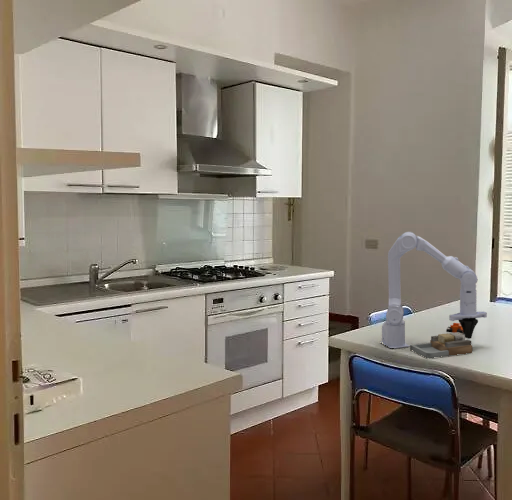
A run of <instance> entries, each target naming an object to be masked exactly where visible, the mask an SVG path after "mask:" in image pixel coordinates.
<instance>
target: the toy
mask: <svg viewBox="0 0 512 500" xmlns="http://www.w3.org/2000/svg"><path fill="white" fill-rule="evenodd" d="M445 332H446V333H455V332H459V333H462V334H464V331H463V328H462V326H461V324H460V322H453V323H452V324H450V326H448V327H446V330H445Z"/></svg>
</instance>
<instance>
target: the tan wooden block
mask: <svg viewBox="0 0 512 500" xmlns="http://www.w3.org/2000/svg"><path fill="white" fill-rule="evenodd" d="M437 336H438V342H439V343H441V344H443V345H445V342H452V341H454V336H453V335H451V334H449V332H446V333H439V334H438V335H437Z"/></svg>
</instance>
